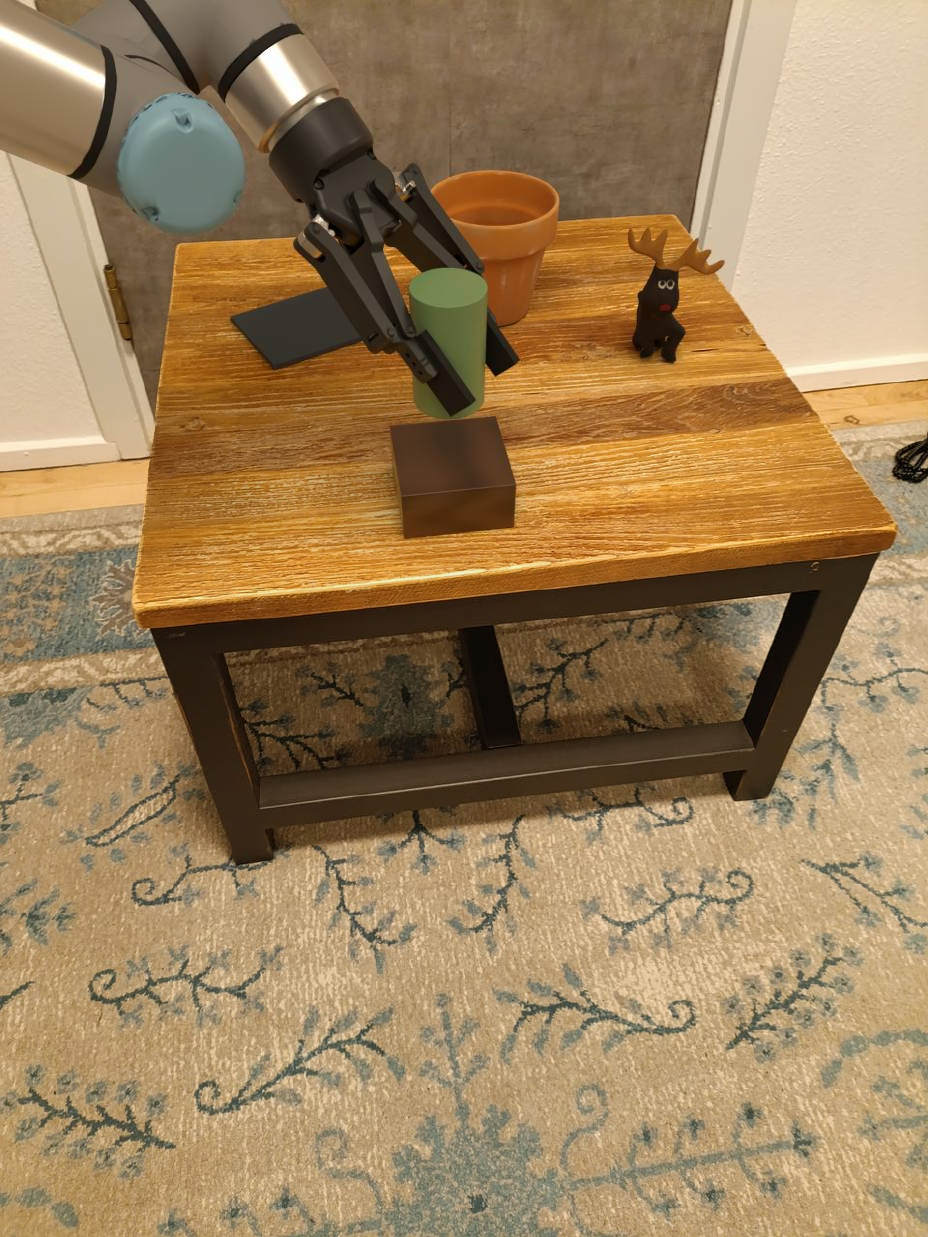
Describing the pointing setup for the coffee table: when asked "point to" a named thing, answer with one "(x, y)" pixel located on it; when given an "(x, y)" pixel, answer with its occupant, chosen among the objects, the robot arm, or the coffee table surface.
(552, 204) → the flower pot
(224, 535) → the coffee table surface
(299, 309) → the slate mat
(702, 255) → the figurine
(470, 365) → the green canister
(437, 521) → the dark brown square block
